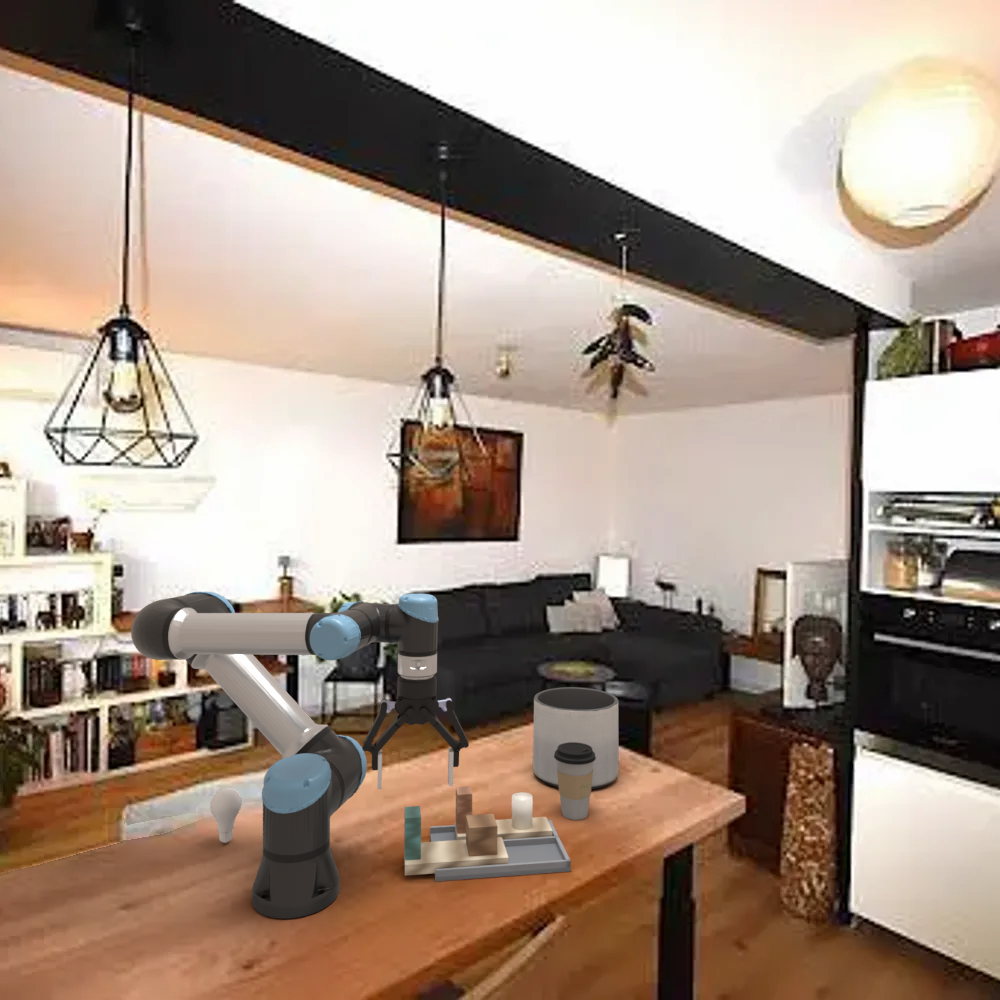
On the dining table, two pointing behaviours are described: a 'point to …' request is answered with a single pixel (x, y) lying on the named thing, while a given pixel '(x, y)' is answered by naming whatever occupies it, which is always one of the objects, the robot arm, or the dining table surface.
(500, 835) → the strip
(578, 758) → the coffee cup
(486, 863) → the strip
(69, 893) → the dining table surface
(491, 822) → the walnut cube
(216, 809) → the lightbulb
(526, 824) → the stoneware cylinder
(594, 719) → the planter
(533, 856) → the lane board
